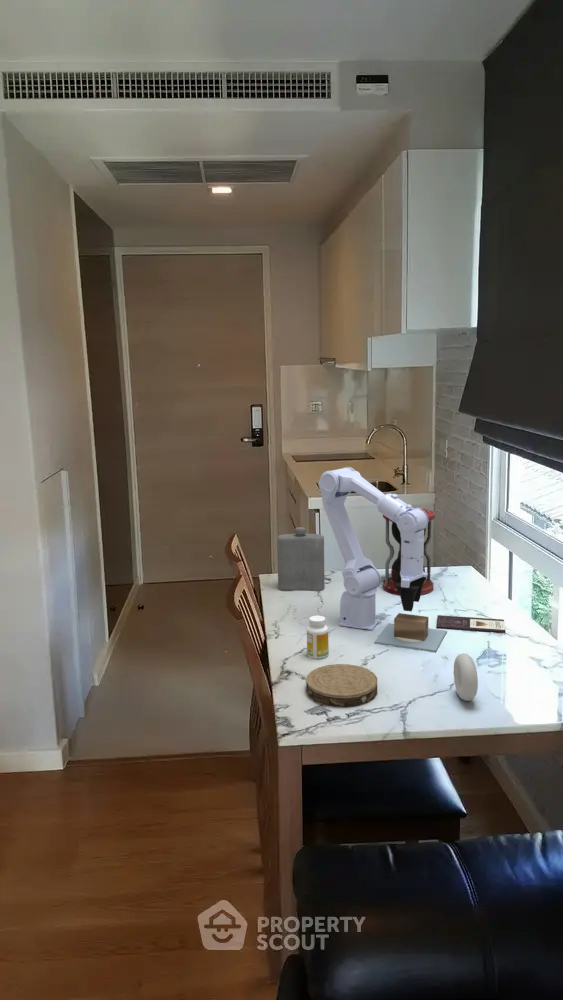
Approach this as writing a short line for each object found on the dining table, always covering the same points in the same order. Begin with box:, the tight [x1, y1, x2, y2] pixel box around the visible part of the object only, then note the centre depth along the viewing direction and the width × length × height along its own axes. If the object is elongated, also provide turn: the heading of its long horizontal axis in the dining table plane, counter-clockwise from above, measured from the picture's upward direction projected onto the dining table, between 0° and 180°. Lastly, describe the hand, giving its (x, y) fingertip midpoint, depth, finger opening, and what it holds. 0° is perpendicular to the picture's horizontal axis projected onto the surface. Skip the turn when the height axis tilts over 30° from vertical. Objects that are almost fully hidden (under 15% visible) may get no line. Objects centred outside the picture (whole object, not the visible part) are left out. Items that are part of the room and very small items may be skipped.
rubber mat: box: [373, 622, 448, 653], centre depth 187 cm, size 16×14×1 cm
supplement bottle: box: [306, 615, 330, 660], centre depth 177 cm, size 5×5×10 cm
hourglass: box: [382, 506, 436, 596], centre depth 225 cm, size 16×16×25 cm
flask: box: [276, 526, 326, 592], centre depth 228 cm, size 15×6×20 cm, turn 86°
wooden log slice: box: [305, 663, 378, 708], centre depth 159 cm, size 16×16×3 cm
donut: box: [453, 653, 479, 702], centre depth 153 cm, size 10×4×10 cm, turn 1°
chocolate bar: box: [435, 614, 506, 634], centre depth 195 cm, size 9×1×18 cm
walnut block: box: [393, 612, 430, 641], centre depth 187 cm, size 4×8×5 cm, turn 65°
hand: (411, 605), depth 185 cm, fingers open, 7 cm apart
